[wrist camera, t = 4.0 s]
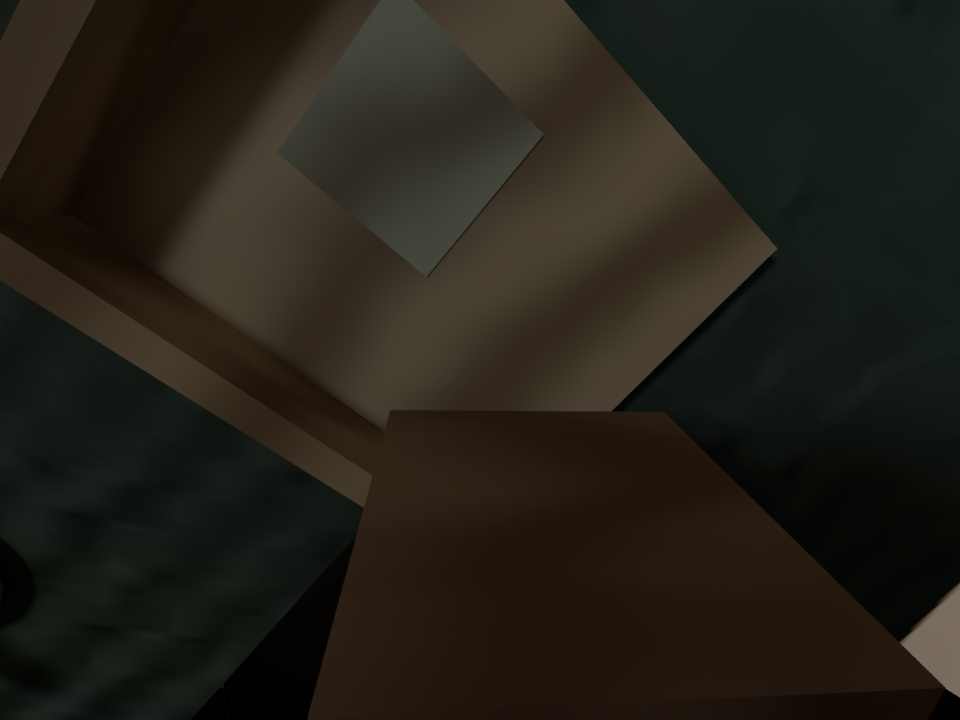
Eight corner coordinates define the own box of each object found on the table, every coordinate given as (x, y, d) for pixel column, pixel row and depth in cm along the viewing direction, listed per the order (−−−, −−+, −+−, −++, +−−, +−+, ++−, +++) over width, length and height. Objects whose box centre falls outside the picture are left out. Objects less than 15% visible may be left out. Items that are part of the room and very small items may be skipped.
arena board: (759, 246, 17) (846, 258, 13) (485, 517, 21) (493, 588, 17) (316, -261, 12) (255, -477, 8) (43, 218, 15) (-90, 224, 11)
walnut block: (664, 411, 8) (945, 687, 4) (623, 614, 10) (780, 983, 5) (390, 410, 8) (306, 717, 3) (396, 621, 10) (347, 1027, 5)
